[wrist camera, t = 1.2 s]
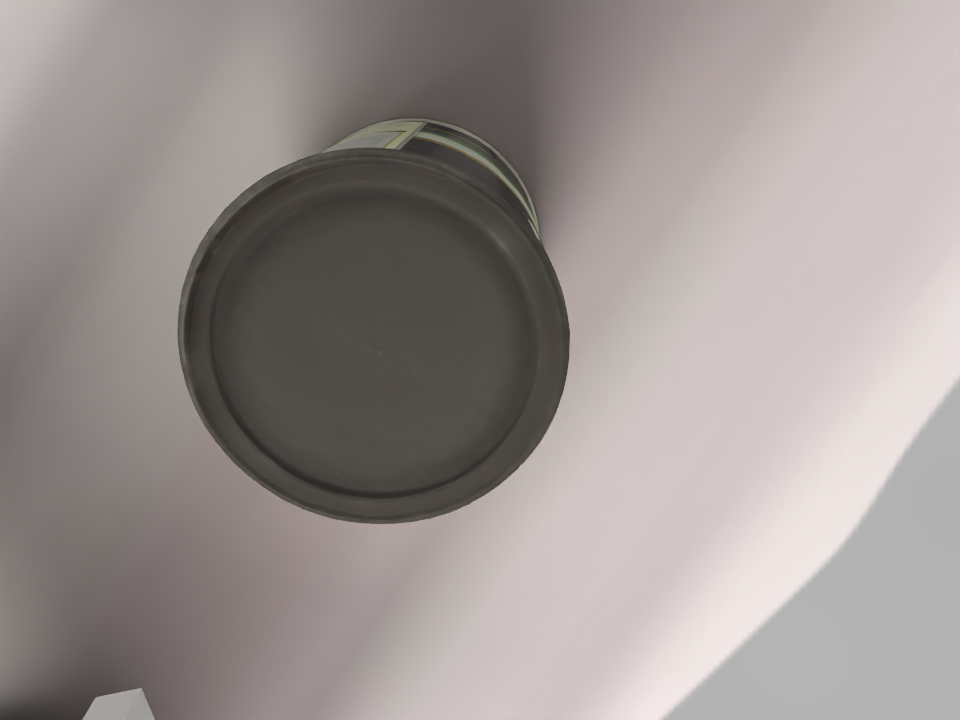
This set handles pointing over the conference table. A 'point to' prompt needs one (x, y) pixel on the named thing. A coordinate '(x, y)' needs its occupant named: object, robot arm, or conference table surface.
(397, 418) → the coffee can
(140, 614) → the conference table surface
